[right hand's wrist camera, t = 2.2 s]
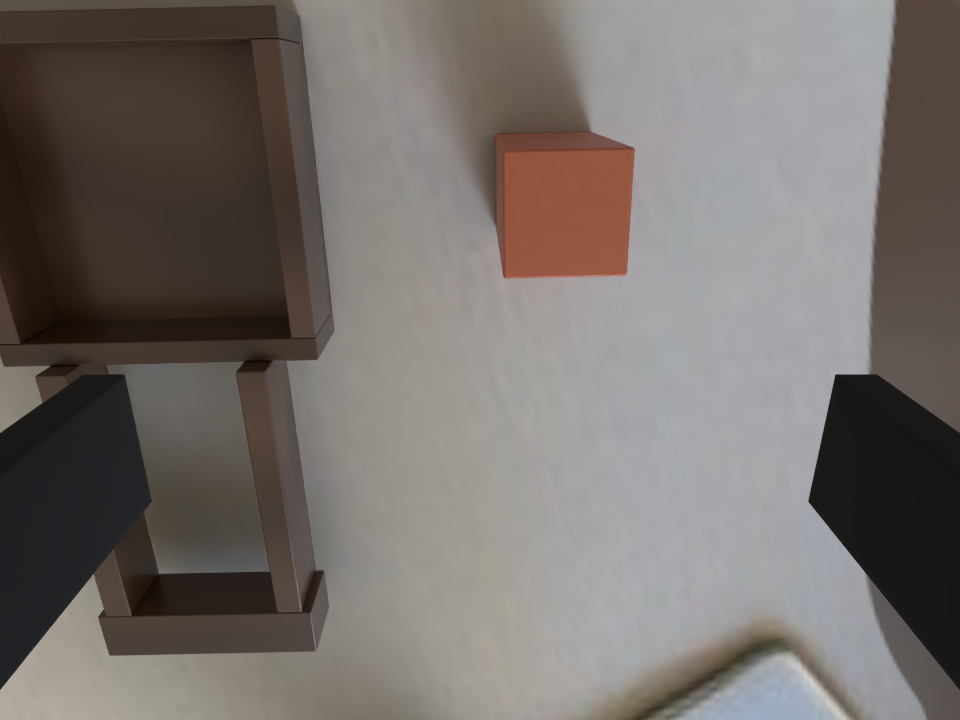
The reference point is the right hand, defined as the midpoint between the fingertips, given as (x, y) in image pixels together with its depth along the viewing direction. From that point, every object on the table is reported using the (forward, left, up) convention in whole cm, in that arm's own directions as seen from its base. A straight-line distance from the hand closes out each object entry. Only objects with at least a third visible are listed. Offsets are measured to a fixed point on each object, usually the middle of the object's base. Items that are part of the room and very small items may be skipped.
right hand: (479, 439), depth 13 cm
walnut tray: (+5, -13, -18) cm, 23 cm away
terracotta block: (-2, +3, -18) cm, 18 cm away
